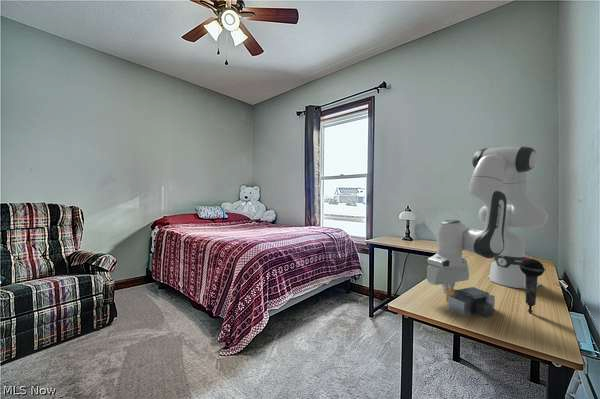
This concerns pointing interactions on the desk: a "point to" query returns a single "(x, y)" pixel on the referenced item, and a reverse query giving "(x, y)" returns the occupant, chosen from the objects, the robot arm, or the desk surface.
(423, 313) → the desk surface
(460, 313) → the block
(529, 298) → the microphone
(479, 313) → the plug
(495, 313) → the desk surface
